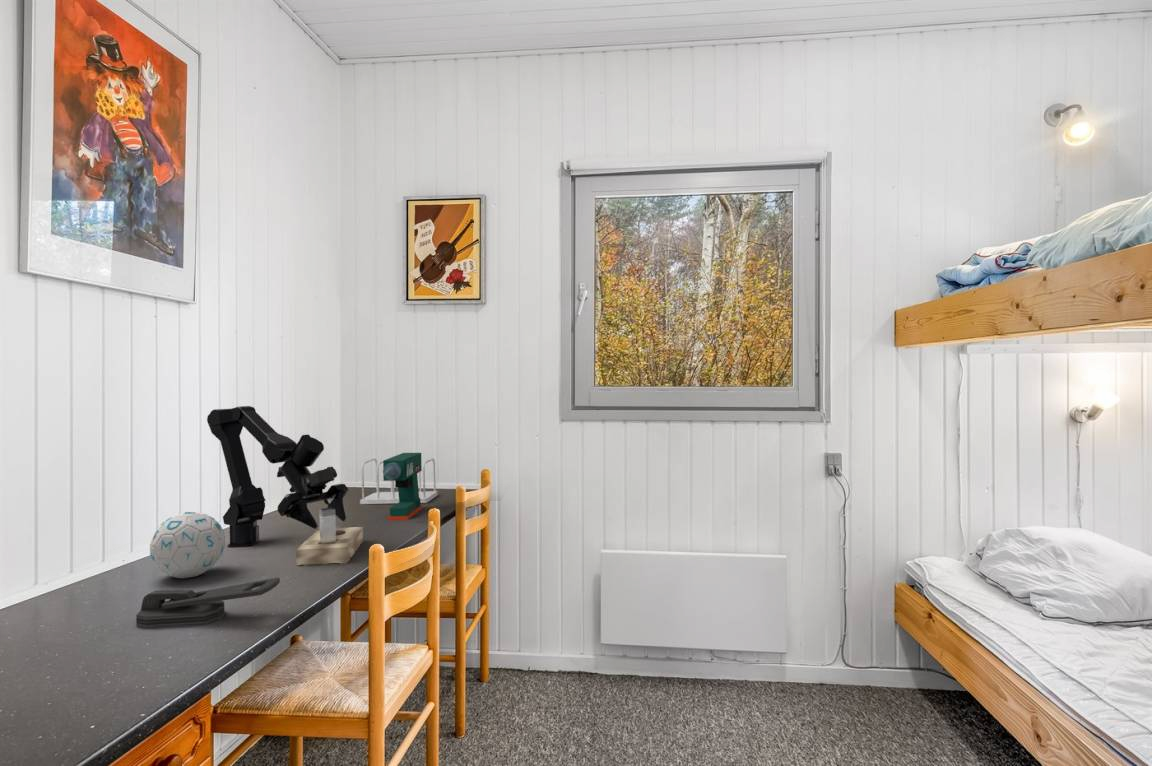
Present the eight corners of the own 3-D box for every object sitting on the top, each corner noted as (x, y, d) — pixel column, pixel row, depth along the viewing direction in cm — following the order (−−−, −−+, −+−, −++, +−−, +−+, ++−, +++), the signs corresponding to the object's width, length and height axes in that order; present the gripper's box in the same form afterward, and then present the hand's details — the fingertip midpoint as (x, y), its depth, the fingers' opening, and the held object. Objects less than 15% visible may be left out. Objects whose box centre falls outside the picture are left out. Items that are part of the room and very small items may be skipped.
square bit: (323, 559, 159) (322, 510, 159) (320, 556, 161) (319, 508, 161) (336, 557, 160) (335, 509, 160) (332, 554, 163) (332, 507, 163)
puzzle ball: (212, 583, 141) (211, 517, 141) (137, 589, 137) (136, 521, 137) (234, 564, 155) (233, 504, 155) (167, 569, 152) (166, 508, 152)
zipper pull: (263, 590, 116) (127, 593, 115) (264, 626, 116) (127, 629, 115) (284, 575, 125) (158, 578, 124) (285, 608, 125) (158, 611, 124)
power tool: (396, 529, 190) (395, 464, 190) (373, 529, 190) (372, 464, 190) (423, 508, 222) (423, 452, 222) (404, 508, 222) (403, 452, 222)
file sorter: (438, 495, 247) (437, 456, 247) (426, 504, 230) (426, 462, 230) (375, 496, 248) (375, 457, 248) (359, 505, 230) (359, 463, 230)
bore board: (296, 565, 153) (296, 548, 153) (318, 543, 175) (318, 528, 175) (347, 563, 155) (346, 546, 155) (363, 540, 177) (362, 526, 177)
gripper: (284, 462, 154) (316, 510, 149) (343, 454, 171) (373, 497, 166) (263, 491, 158) (294, 539, 153) (322, 480, 174) (352, 523, 170)
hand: (330, 523), depth 160 cm, fingers open, 9 cm apart
